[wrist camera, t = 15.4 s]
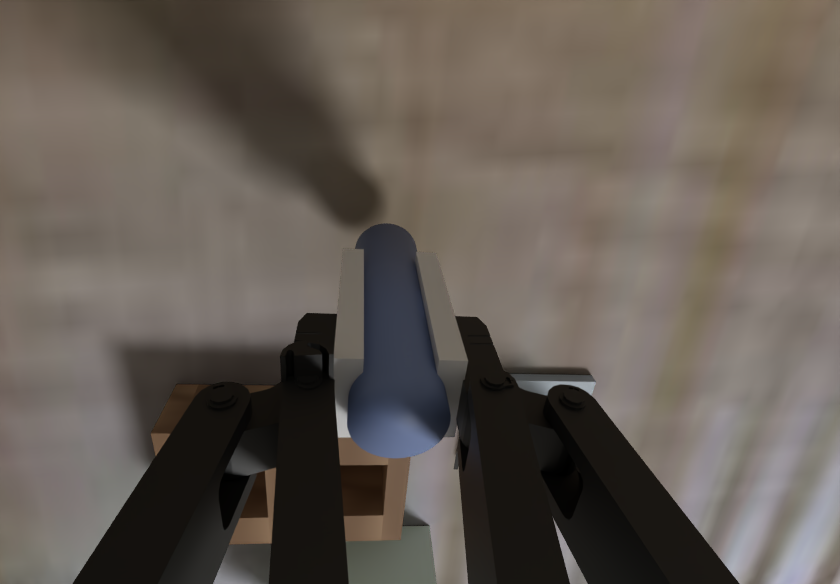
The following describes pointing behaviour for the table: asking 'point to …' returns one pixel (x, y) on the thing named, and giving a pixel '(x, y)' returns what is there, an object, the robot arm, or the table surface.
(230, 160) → the table surface
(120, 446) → the table surface
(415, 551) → the cover
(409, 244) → the peg
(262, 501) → the socket block
